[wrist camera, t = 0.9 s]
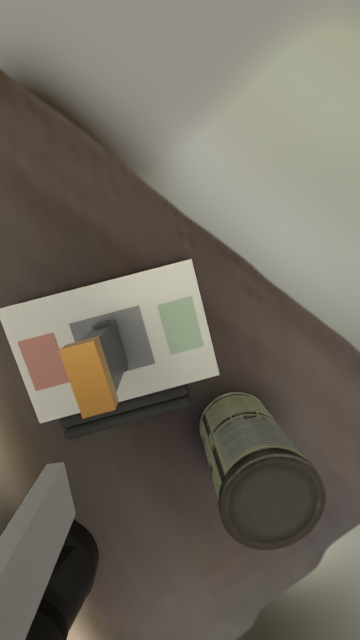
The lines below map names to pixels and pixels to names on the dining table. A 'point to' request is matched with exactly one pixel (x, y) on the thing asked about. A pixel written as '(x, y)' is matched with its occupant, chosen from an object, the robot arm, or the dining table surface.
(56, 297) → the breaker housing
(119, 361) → the breaker lever
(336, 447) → the dining table surface
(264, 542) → the coffee can
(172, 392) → the long thin dark rod
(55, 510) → the robot arm
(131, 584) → the dining table surface
